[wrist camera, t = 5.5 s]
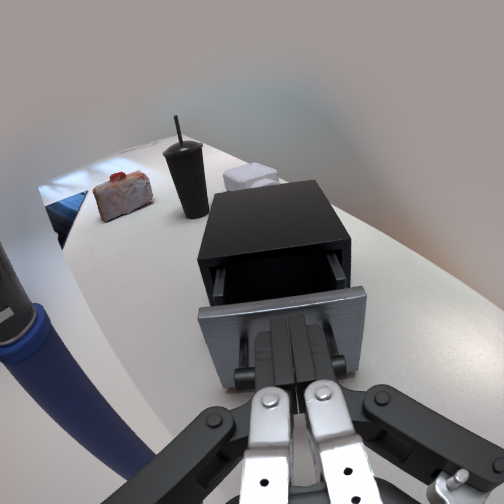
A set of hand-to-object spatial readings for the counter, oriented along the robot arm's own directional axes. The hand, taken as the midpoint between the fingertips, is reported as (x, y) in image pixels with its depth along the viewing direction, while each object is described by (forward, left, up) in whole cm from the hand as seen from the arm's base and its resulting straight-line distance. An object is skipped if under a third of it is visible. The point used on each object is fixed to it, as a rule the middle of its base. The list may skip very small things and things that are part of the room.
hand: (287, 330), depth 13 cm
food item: (-8, +66, -13) cm, 68 cm away
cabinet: (+8, +18, -13) cm, 24 cm away
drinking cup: (+6, +49, -13) cm, 52 cm away
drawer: (+4, +10, -12) cm, 16 cm away
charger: (+20, +50, -13) cm, 56 cm away
